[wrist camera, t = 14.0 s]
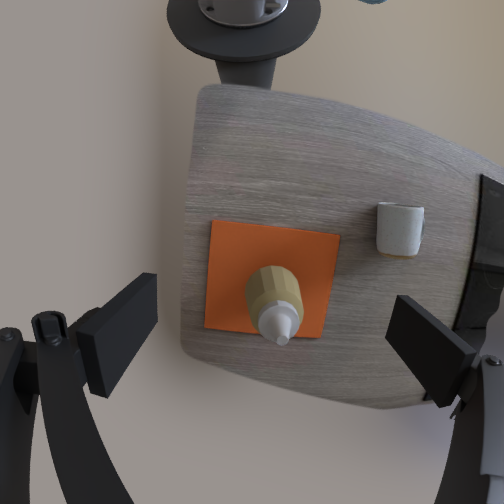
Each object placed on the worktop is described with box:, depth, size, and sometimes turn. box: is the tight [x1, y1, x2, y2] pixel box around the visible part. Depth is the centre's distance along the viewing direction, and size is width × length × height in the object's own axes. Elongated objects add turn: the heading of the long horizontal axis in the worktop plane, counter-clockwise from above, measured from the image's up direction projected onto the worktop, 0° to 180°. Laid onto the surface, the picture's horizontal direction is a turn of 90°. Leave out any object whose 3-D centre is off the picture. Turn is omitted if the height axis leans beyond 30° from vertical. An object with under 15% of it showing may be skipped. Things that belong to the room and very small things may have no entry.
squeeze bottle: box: [245, 265, 304, 346], centre depth 36 cm, size 8×8×18 cm
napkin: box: [204, 220, 340, 338], centre depth 45 cm, size 18×20×1 cm
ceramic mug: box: [376, 202, 425, 260], centre depth 39 cm, size 11×8×8 cm
